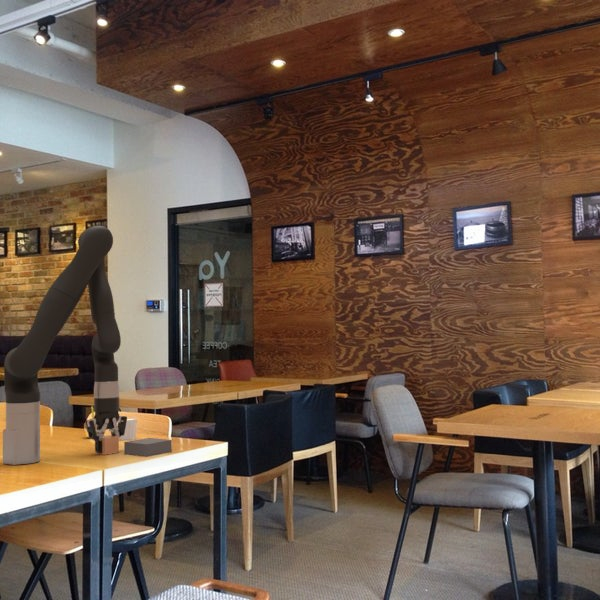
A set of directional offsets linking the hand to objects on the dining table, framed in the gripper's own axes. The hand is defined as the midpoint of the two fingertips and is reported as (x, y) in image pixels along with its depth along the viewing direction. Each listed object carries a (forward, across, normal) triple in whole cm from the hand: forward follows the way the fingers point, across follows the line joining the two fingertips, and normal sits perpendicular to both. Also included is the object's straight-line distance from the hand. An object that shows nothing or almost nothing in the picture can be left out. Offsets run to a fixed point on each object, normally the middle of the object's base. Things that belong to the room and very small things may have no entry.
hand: (107, 451), depth 212 cm
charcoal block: (+1, +7, -11) cm, 13 cm away
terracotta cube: (0, 0, 0) cm, 0 cm away
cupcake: (+1, +20, +34) cm, 39 cm away
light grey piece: (+1, +23, +20) cm, 30 cm away
